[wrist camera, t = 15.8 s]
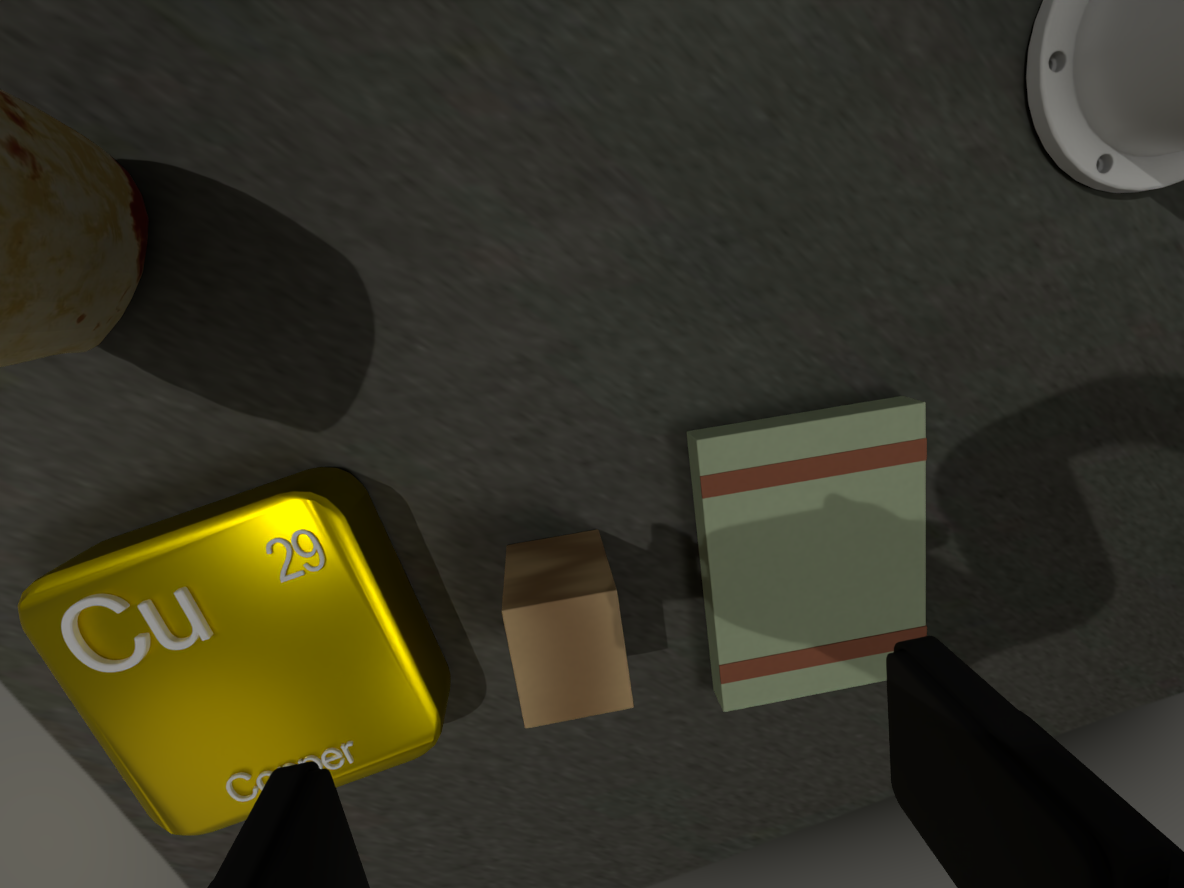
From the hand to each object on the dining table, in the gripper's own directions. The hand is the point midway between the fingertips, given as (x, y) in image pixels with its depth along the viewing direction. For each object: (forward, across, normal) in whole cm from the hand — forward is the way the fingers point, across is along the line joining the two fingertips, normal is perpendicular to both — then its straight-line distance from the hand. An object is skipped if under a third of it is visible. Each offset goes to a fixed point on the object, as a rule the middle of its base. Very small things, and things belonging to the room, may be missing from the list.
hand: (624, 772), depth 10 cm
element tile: (+22, +17, +7) cm, 29 cm away
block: (+22, +2, +8) cm, 24 cm away
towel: (+22, -12, +9) cm, 27 cm away
